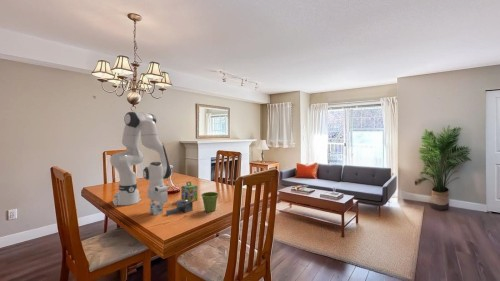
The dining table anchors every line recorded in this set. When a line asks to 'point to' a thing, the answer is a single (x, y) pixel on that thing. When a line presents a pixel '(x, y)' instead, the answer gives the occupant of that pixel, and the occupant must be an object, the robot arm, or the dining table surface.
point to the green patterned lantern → (189, 192)
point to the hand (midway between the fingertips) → (157, 207)
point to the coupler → (181, 207)
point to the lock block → (155, 208)
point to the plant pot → (210, 201)
